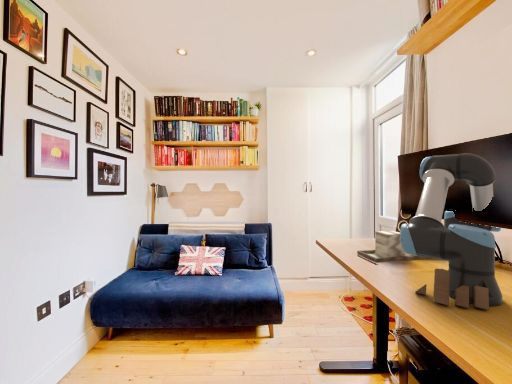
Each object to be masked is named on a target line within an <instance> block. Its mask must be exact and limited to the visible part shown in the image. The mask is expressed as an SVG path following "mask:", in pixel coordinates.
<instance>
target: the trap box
mask: <svg viewBox="0 0 512 384" xmlns="http://www.w3.org/2000/svg"><path fill="white" fill-rule="evenodd" d="M356 252H357V257H359V259H360V258H361V259H363V260H365V261H367V262H368V263H371V264H373V265H375V266H377V265H378V266H379V264H378V263H379V262H380V263H381V262H394V261H410V260H412V261H413V260H424V259H425V260H427V259H430V258H428V257H423V256H415V255H412V254H407V253H405V256H400V257H382V256H379V255H377V254H375V249H363V250H357V251H356ZM373 261H374V262H373Z"/></svg>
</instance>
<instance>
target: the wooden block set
mask: <svg viewBox="0 0 512 384" xmlns="http://www.w3.org/2000/svg"><path fill="white" fill-rule="evenodd" d="M433 278H434V279H433V280H434V281H433V282H434V283H433V302H434V303H436V304H441V305H445V306H449V305H450V296H449V287H450V271H448V270H447V269H443V268H435V269H434V277H433ZM414 292H415V293H416V294H421V295H422V296H424V295H425V296H427V284H426V283H425V284H424V285H422V286H421V287H420V288H419V289H417V290H415V291H414ZM472 304H473V307H474V308H477V309H481V310H485V311H486V310H487V311H488V310H490V306H489V289H488V288H485V287H480V286H474V290H473V303H472ZM454 305H455V306H457V307H461V308H465V309H469V308H470V303H469V287H468V286H464V285H462V286H460V287H459V288H457V289H456V290H455V298H454Z"/></svg>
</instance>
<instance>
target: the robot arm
mask: <svg viewBox="0 0 512 384" xmlns="http://www.w3.org/2000/svg"><path fill="white" fill-rule="evenodd" d="M419 177H420V180H421V181H422V182H423V183H424V184H423V187H422V192H421V195H420V199H419V202H418V206H417V209H416V212H415V216H413V217H411V218H410V219H409V221H408V223H402V224H401V226H400V231H399V233H400V239H401V245H402V248H403V250H404V252H405V253H407V254H411V255H414V256H423V257H428V258H429V259H434V260H435V259H436V260H442V261H447V262H448V271H450V287H449V297H451V298H454V299H455V290H456V289H457V288H459V287H460V286H462V285H464V286H468V287H469V304H473V290H474V286H480V287H485V288H488V289H489V307H494V306H495V307H496V306H501V305H502V304H503V293H502V291H501V289H500V286H499V284H498V281H497V278H496V275H495V274H496V255H495V254H496V253H495V250H496V248H497V245H496V241H495V240H496V239H495V235H494V233H493V232H500V231H501V230H502V227H501V228H496V227H491V226H483V225H479V224H471V223H465V222H459V221H458V220H457V219H456V218H455V214H454V212H453V211H447V210H445V205H446V199H447V196H448V195H447V194H448V190H449V187H451V186H452V185H453V184H454V182H455V181H465V182H466V184H467V185H469V189H470V198H471V199H470V200H471V205H472V209H473V208H474V210H475V211H482V210H483V209H485V208H486V207H487V206H488V205H489V203H490V202H491V200H492V197H494V186H493V185H494V183H495V182H496V171H495V169H494V167H493V165H492V164H491V163H490V162H489V161H487V160H486V159H485V158H484V157H482V156H480V155H477V154H475V153H474V154H473V153H469V152H467V153H466V152H463V153H455V154H454V153H453V154H444V155H443V154H442V155H441V154H440V155H439V154H438V155H432V156H426V157H425V158H423V159H422V161H421V163H420V166H419ZM444 210H445V211H444ZM443 217H444V218H443ZM442 220H443V222H442Z"/></svg>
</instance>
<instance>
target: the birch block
mask: <svg viewBox="0 0 512 384" xmlns="http://www.w3.org/2000/svg"><path fill="white" fill-rule="evenodd" d="M374 236H375V237H374V239H375V246H374V247H375V248H374V250H375V254H377V255H379V256H382V257H400V256H405V252H404V250H403V248H402V245H401V239H400V231H394V230H382V231H380V230H379V231H375V235H374Z"/></svg>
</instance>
